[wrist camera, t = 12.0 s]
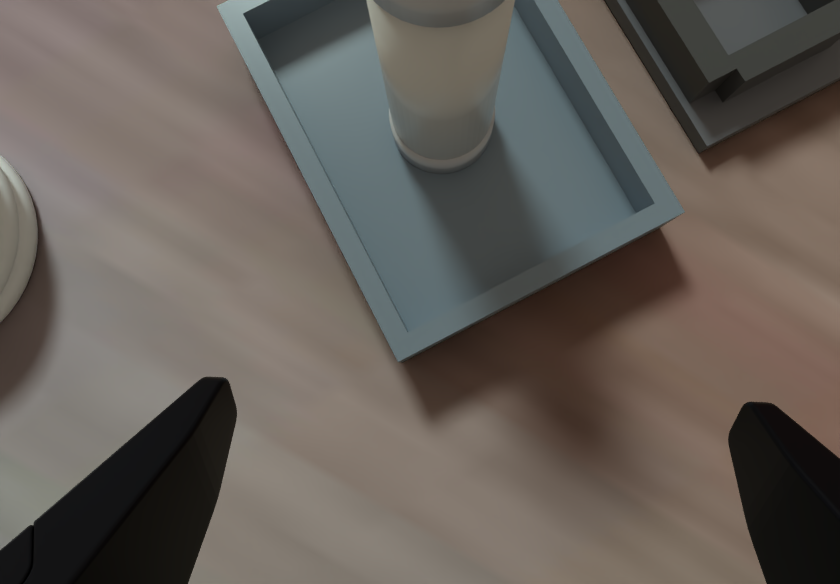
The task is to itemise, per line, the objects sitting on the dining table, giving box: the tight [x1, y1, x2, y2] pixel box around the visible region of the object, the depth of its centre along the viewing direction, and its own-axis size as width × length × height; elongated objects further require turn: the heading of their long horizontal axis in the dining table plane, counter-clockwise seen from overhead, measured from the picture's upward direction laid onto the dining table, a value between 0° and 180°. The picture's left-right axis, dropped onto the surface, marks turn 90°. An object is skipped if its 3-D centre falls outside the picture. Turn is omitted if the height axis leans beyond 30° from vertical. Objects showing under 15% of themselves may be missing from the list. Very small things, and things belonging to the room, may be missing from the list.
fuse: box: [366, 0, 515, 174], centre depth 19 cm, size 4×4×12 cm
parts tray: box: [217, 0, 685, 362], centre depth 24 cm, size 16×12×2 cm
